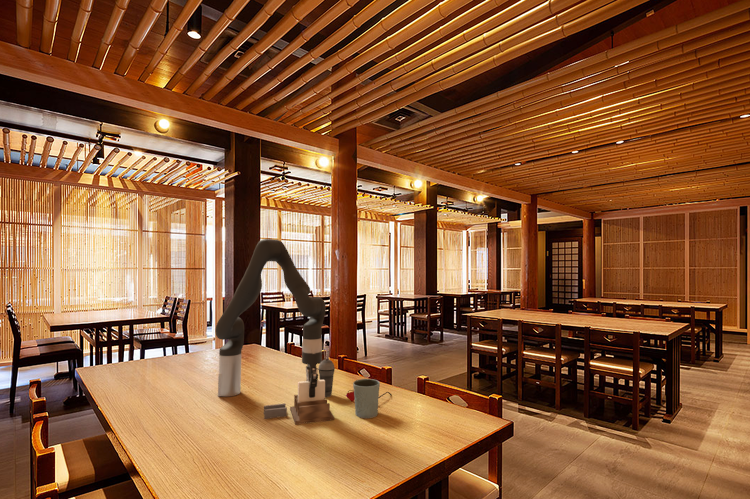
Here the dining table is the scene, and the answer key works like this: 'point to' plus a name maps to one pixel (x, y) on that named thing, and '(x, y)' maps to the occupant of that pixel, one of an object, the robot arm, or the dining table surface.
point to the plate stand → (275, 411)
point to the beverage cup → (327, 374)
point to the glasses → (351, 396)
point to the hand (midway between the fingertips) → (311, 395)
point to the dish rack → (310, 411)
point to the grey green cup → (366, 397)
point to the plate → (304, 391)
